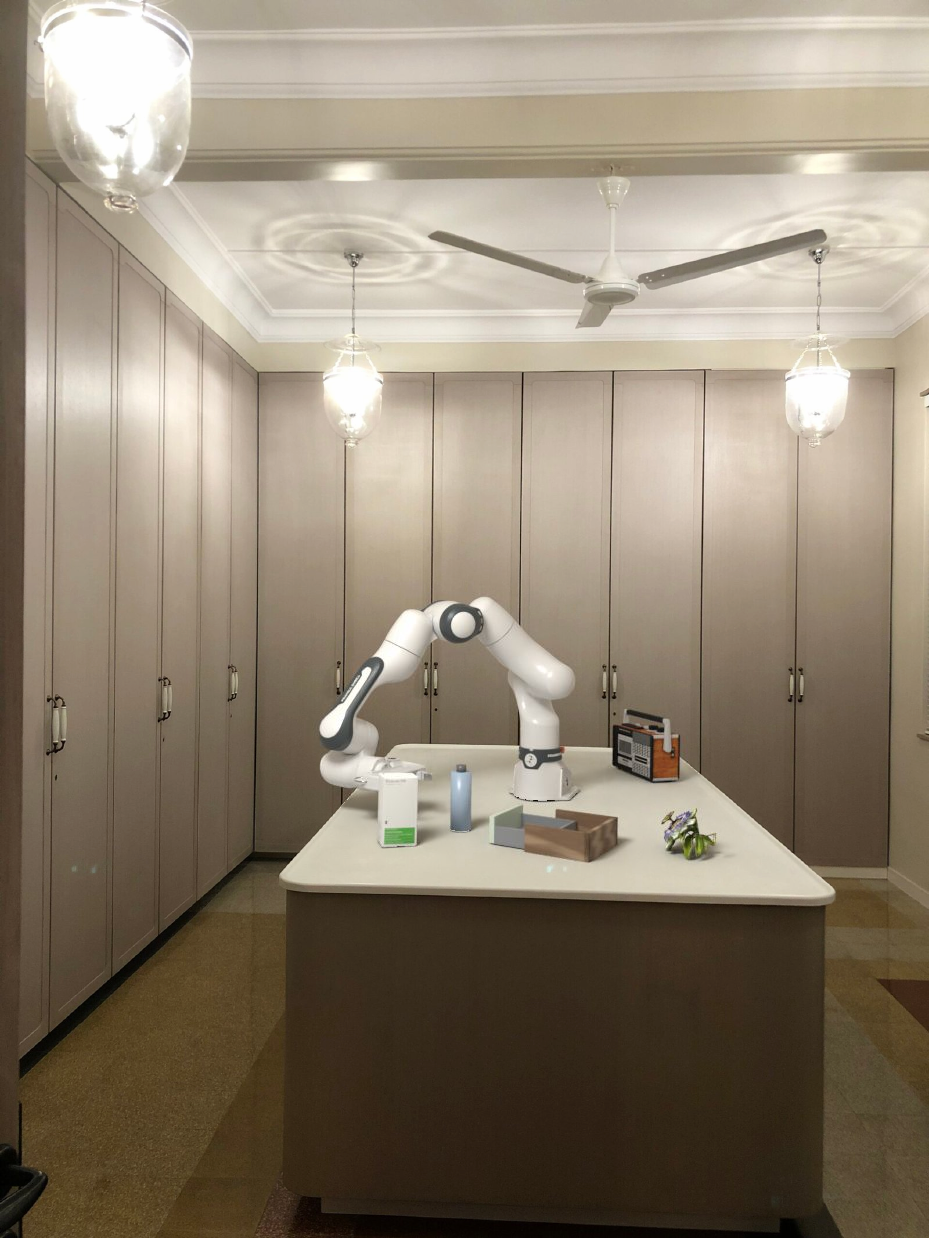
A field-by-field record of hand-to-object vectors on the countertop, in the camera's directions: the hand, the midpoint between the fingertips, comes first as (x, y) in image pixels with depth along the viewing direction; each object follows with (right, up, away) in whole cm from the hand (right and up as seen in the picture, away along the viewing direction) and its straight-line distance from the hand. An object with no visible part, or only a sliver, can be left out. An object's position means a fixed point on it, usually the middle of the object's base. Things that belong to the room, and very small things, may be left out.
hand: (421, 780), depth 211 cm
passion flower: (+60, -12, -23) cm, 65 cm away
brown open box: (+34, -11, -19) cm, 41 cm away
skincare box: (-4, -11, -18) cm, 21 cm away
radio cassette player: (+69, -11, +67) cm, 97 cm away
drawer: (+27, -11, -15) cm, 33 cm away
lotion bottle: (+10, -11, -5) cm, 15 cm away
